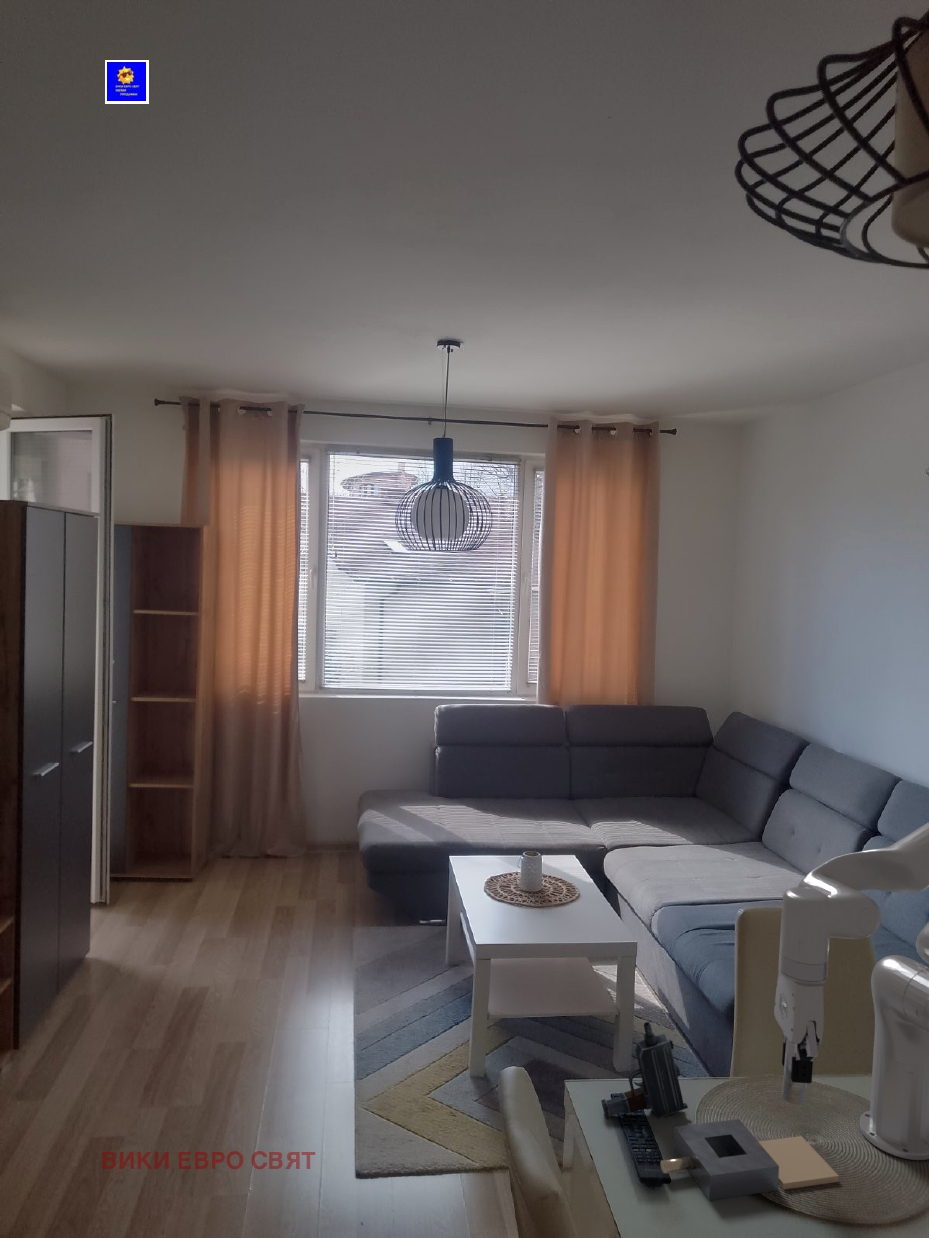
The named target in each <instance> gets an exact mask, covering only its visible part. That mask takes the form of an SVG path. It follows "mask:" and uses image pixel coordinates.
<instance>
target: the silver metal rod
mask: <svg viewBox="0 0 929 1238" xmlns="http://www.w3.org/2000/svg"><path fill="white" fill-rule="evenodd" d="M803 1039H806V1037H804V1038H803ZM806 1047H807V1045H800V1050H801V1049H802V1048H806ZM794 1048H795V1044H793V1043H792V1042H790V1040H789V1039H788V1038H787V1039H786V1052H785V1064H784V1066H783V1080H782V1091H781V1097H782V1098H783V1099H784V1100H785V1101H786V1102H787V1103H790V1104H793V1105H797V1106H798V1105H799V1106H800V1105H803V1104H805V1103H806V1099H807V1098H806V1095H807V1086H808V1085H807V1084H808V1083H795V1082H792V1080H791V1066H792V1057H795V1056H794Z"/></svg>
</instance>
